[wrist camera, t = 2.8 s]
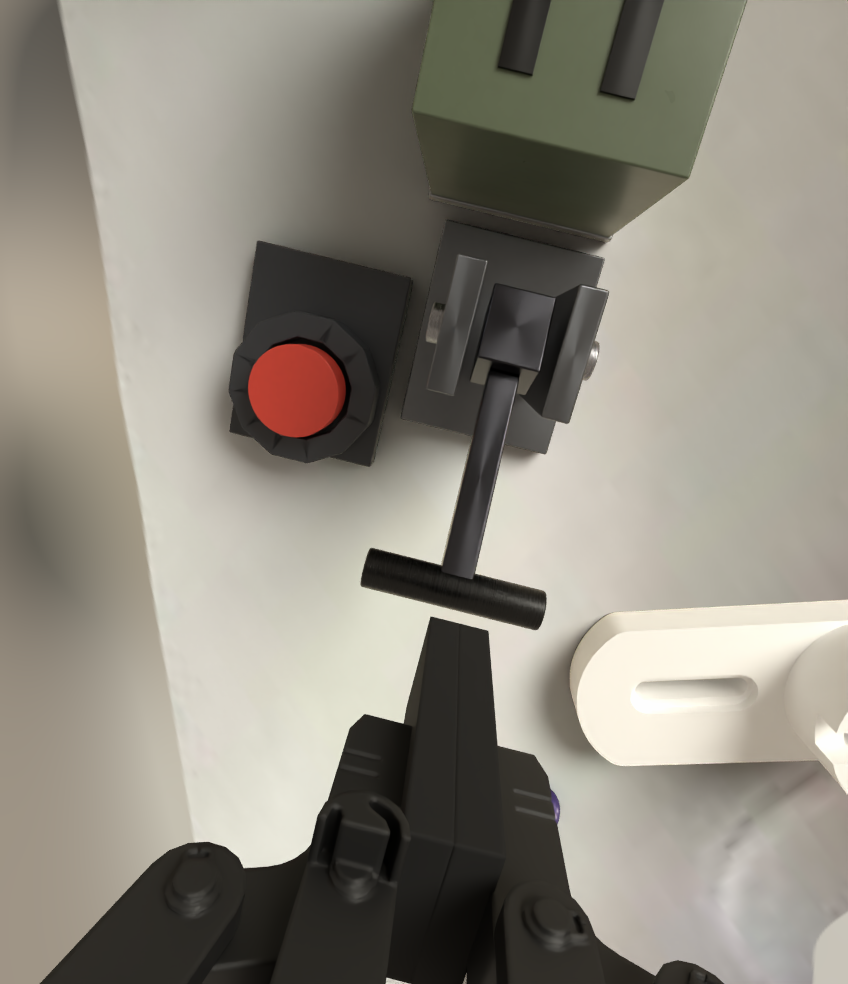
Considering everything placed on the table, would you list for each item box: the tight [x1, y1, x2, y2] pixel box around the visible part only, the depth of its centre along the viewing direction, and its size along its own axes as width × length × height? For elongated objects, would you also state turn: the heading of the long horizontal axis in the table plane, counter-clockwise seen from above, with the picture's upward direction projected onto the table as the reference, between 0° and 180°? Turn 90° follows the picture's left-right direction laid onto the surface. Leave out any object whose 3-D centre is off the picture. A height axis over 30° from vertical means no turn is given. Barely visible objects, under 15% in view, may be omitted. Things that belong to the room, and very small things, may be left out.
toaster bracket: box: [401, 220, 609, 454], centre depth 24 cm, size 10×8×12 cm
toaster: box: [412, 0, 747, 243], centre depth 22 cm, size 11×9×11 cm
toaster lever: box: [361, 283, 556, 630], centre depth 20 cm, size 11×6×2 cm, turn 167°
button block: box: [229, 241, 413, 467], centre depth 29 cm, size 10×8×3 cm
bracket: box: [570, 600, 848, 794], centre depth 31 cm, size 20×9×7 cm, turn 96°
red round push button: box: [248, 344, 346, 437], centre depth 28 cm, size 4×4×2 cm
